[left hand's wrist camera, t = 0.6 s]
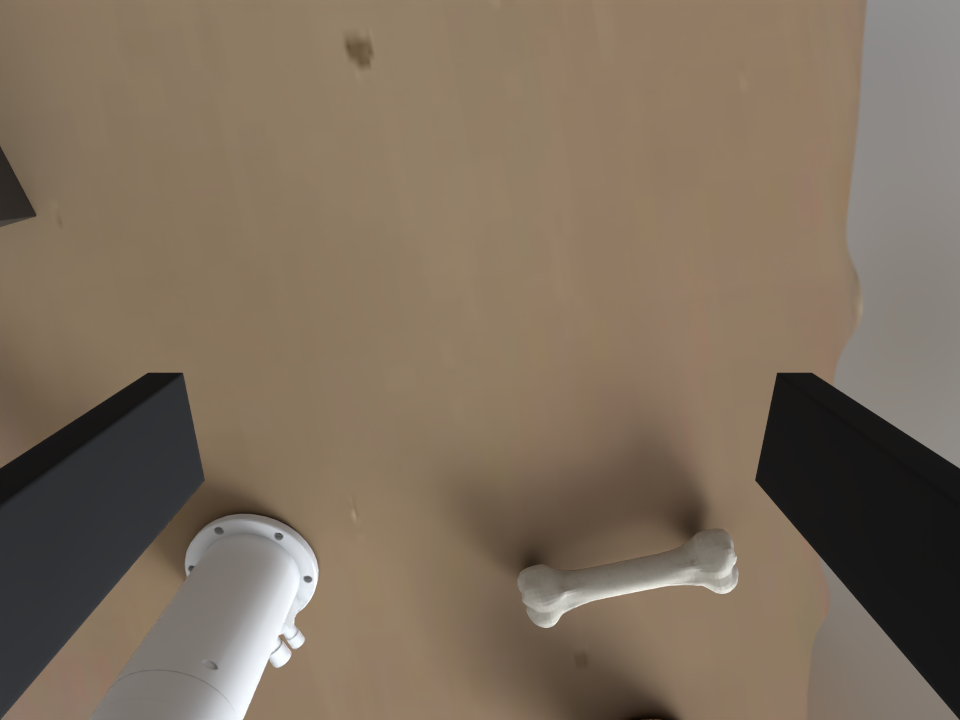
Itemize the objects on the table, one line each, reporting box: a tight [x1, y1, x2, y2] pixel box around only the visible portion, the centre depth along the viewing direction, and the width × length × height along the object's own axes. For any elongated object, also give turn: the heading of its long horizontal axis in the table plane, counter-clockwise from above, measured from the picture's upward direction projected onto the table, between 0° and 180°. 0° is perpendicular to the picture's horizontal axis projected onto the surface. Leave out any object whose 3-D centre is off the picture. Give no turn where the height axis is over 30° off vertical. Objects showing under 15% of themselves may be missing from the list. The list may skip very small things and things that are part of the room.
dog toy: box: [517, 529, 738, 628], centre depth 51 cm, size 20×6×5 cm, turn 105°
